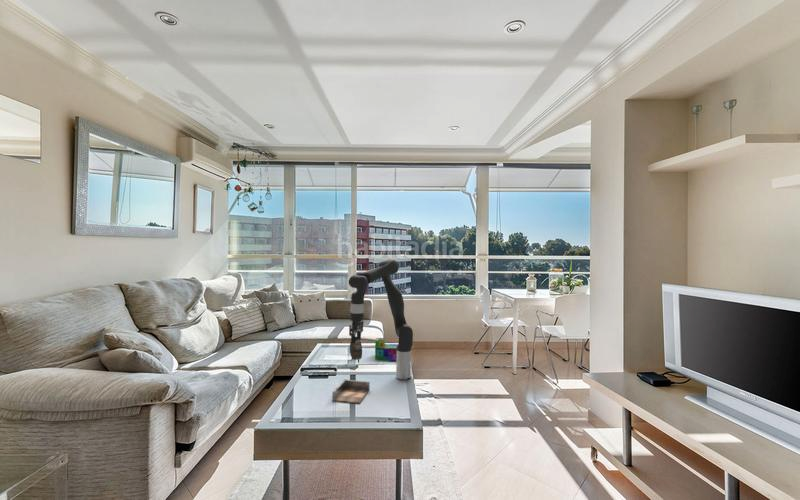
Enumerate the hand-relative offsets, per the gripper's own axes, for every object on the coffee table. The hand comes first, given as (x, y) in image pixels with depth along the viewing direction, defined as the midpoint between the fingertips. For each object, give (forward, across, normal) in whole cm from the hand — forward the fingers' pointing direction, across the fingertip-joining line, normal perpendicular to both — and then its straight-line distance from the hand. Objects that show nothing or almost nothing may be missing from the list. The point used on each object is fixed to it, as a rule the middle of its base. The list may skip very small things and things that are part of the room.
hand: (355, 341), depth 211 cm
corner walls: (+30, +1, -1) cm, 30 cm away
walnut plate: (+30, +1, -1) cm, 30 cm away
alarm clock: (+11, 0, 0) cm, 11 cm away
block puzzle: (+29, -73, -2) cm, 79 cm away
